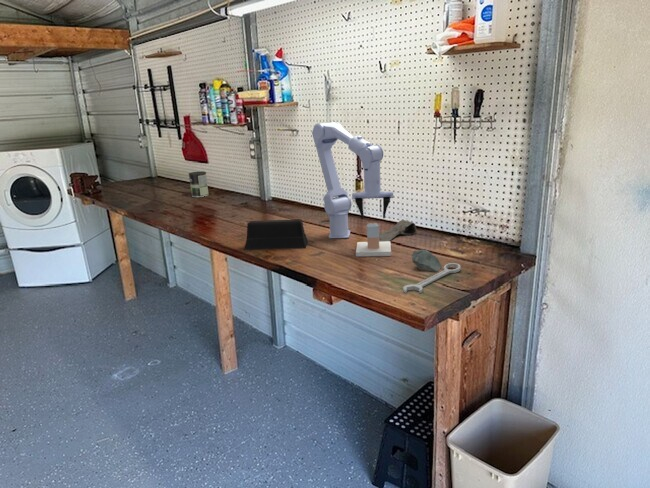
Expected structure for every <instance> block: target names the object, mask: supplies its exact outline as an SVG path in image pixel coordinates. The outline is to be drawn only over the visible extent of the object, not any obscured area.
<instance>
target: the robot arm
mask: <svg viewBox="0 0 650 488" xmlns="http://www.w3.org/2000/svg"><path fill="white" fill-rule="evenodd" d="M311 134H312V138H313V141H314V147H316V151H317V155H318V161H319V163H320V167H321V170H322V175H323V179H324V183H325V186H326V189H327V192H326V193H325V195H324V196H323V202H324V203H323V204H324V205H323V208H324V211H325V212H326V214H327V215H328V216H329V234H328V239H348V238H349V237H350V234H351V230H349V219H348V218H349V217H348V214H349V213H350V210H351V209H352V200H355V204H356V207H357V208H358V210H359V214H360V217H361V220H364V217H365V216H364V206H363V205H364V200H365V199H367V200H368V199H382V203H383V205H382V208H383V210H382V219H386V212H387V210H388V206H389V205H390V202H391V199H394V192H393V191H381V161H382V160H383V158H384V150H383V148H382V147H381V146H380V145H379V144H374V145H373V144H372V143H371V142H370V141H367V140H365V139H364V138H363V136H362V135H355V136H354V135H353V134H351V133H350V132H349V131H347V129H346V128H345V129H344V127H343V125H342V124H341V123H339V122H338V121H333V122H322V123H319V122H318V123H316V124H314V126H313V129H312V132H311ZM338 140H340V141H341V142H343V143H345V144H346V145H348V150H350V152H352V153H354V154H355V155H357V156H358V157H359V160H360V161H361V163H362V164H361V165H362V166H361V167H362V169H363V184H364V185H363V186H364V187H363V188H364V191H363V192H352V193H351V198H350V196H349V194H348V191H347V190H345V189H344V188H342V187H341V183H340V179H339V175H338V171H337V167H336V164H335V160H334V157H333V156H334V155H333V152H332V147H333V146H334V145H335V144H336V143H337V141H338Z"/></svg>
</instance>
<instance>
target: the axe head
mask: <svg viewBox="0 0 650 488" xmlns="http://www.w3.org/2000/svg"><path fill="white" fill-rule="evenodd" d="M413 234H414V235H415V234H417V226H416V223H414V222H412V221H409V220H406V219H401V220H399V221H398V222H397V223H396V224H395V225H394V226H393V227H392V228H391V229H388V230H386V231H383V232H381V233H379V242H383V241H390V242H391V241H392V240H393V239H395V237H396V236H398V235H407V236H410V235H413Z"/></svg>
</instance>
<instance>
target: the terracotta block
mask: <svg viewBox="0 0 650 488" xmlns="http://www.w3.org/2000/svg"><path fill="white" fill-rule="evenodd" d="M366 239H367V241H366V242H367V243H368V249H379V237H377V238H367V237H366Z"/></svg>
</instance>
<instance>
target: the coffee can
mask: <svg viewBox="0 0 650 488" xmlns="http://www.w3.org/2000/svg"><path fill="white" fill-rule="evenodd" d="M188 178H189V185H190V191H191V192H190V193H191V197H192V198H203V197H204V196H205V197H208V196H209V194H210V193H209V187H208V180H207V172H206V171H192V172H188ZM205 197H204V198H205Z"/></svg>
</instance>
